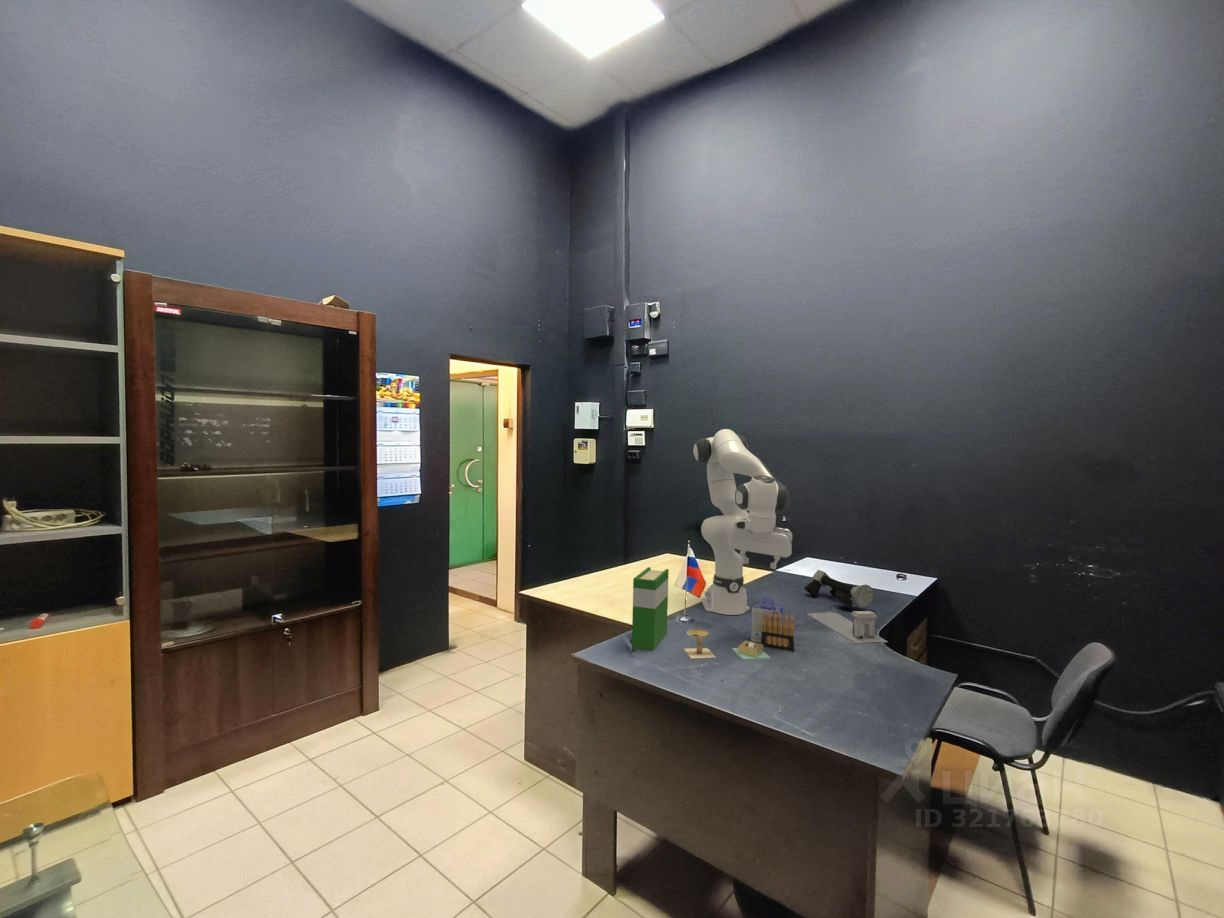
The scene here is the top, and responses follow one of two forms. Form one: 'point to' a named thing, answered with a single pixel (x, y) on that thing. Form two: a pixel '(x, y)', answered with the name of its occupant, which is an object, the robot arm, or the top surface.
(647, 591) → the hardback book
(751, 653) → the tan tray
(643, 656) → the top surface
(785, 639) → the ammunition clip
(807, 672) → the top surface
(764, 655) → the mint green base plate
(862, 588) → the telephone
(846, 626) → the triumphal arch model
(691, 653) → the stand
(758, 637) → the ink cartridge box
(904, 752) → the top surface
